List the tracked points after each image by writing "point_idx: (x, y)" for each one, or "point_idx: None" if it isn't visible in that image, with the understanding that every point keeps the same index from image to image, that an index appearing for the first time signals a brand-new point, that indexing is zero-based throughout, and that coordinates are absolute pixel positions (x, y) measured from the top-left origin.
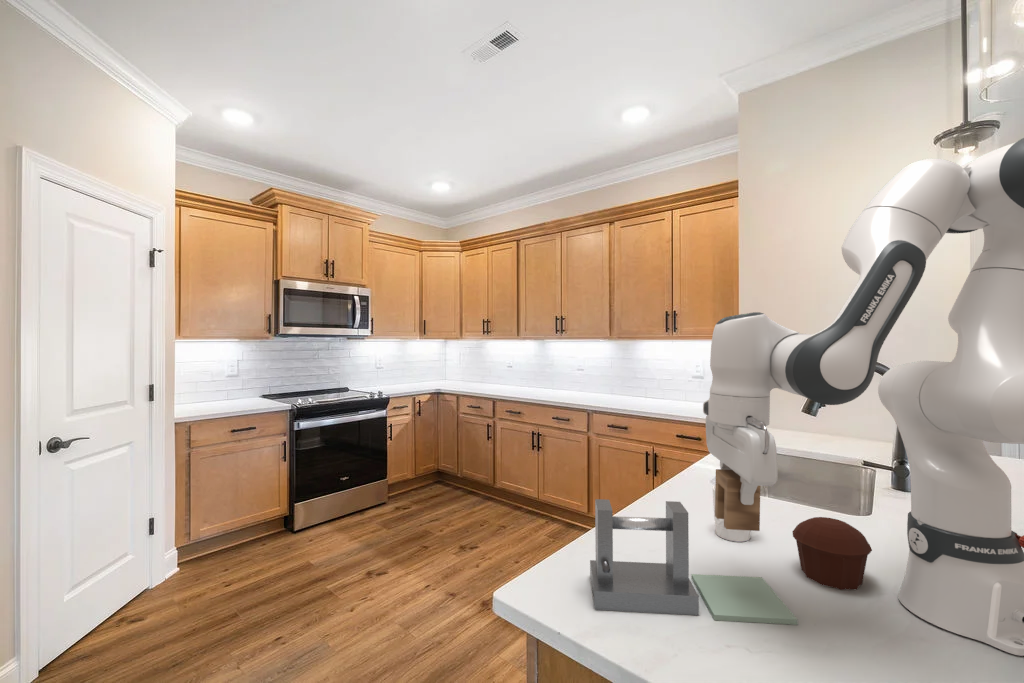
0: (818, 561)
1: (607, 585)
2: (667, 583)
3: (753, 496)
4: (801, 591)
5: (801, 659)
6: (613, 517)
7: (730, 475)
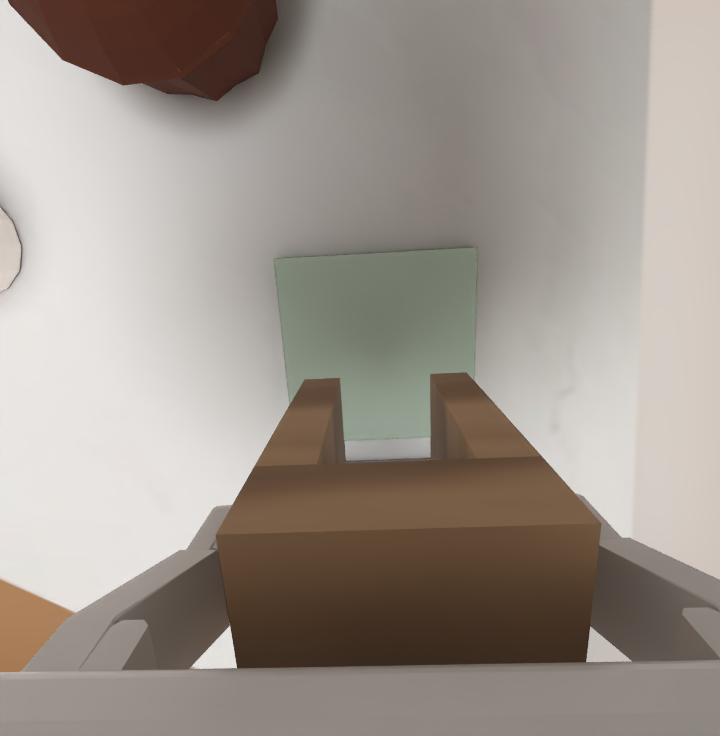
0: (239, 47)
1: None
2: None
3: (607, 524)
4: (309, 160)
5: (596, 295)
6: None
7: None
